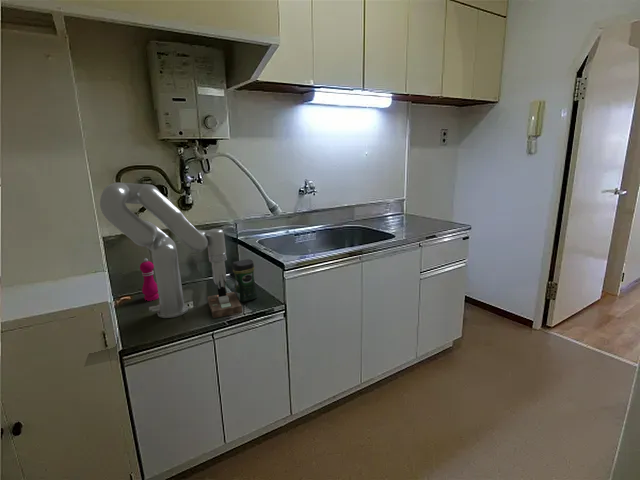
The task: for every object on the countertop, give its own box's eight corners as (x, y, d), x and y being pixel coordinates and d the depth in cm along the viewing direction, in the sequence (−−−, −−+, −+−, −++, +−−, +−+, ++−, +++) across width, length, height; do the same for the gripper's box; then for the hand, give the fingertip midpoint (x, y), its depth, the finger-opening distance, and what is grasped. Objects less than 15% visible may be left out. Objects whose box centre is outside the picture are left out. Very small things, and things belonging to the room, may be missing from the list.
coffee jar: (252, 293, 179) (249, 256, 174) (259, 298, 172) (256, 260, 168) (233, 298, 174) (229, 260, 169) (239, 303, 167) (235, 264, 163)
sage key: (222, 314, 157) (221, 307, 156) (221, 310, 160) (220, 304, 160) (232, 312, 158) (231, 305, 157) (230, 308, 162) (229, 302, 161)
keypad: (213, 318, 154) (212, 311, 153) (208, 302, 170) (207, 296, 169) (242, 312, 158) (241, 305, 157) (234, 297, 174) (233, 291, 174)
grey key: (220, 306, 161) (219, 300, 161) (218, 303, 165) (218, 297, 164) (229, 304, 163) (228, 298, 162) (228, 301, 166) (227, 295, 166)
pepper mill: (148, 302, 173) (141, 261, 168) (140, 299, 177) (133, 259, 172) (163, 297, 178) (156, 257, 174) (155, 294, 183) (148, 255, 178)
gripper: (207, 254, 169) (211, 292, 174) (211, 262, 156) (216, 303, 160) (223, 251, 172) (228, 289, 176) (229, 260, 159) (233, 300, 163)
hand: (222, 295), depth 168 cm, fingers closed
